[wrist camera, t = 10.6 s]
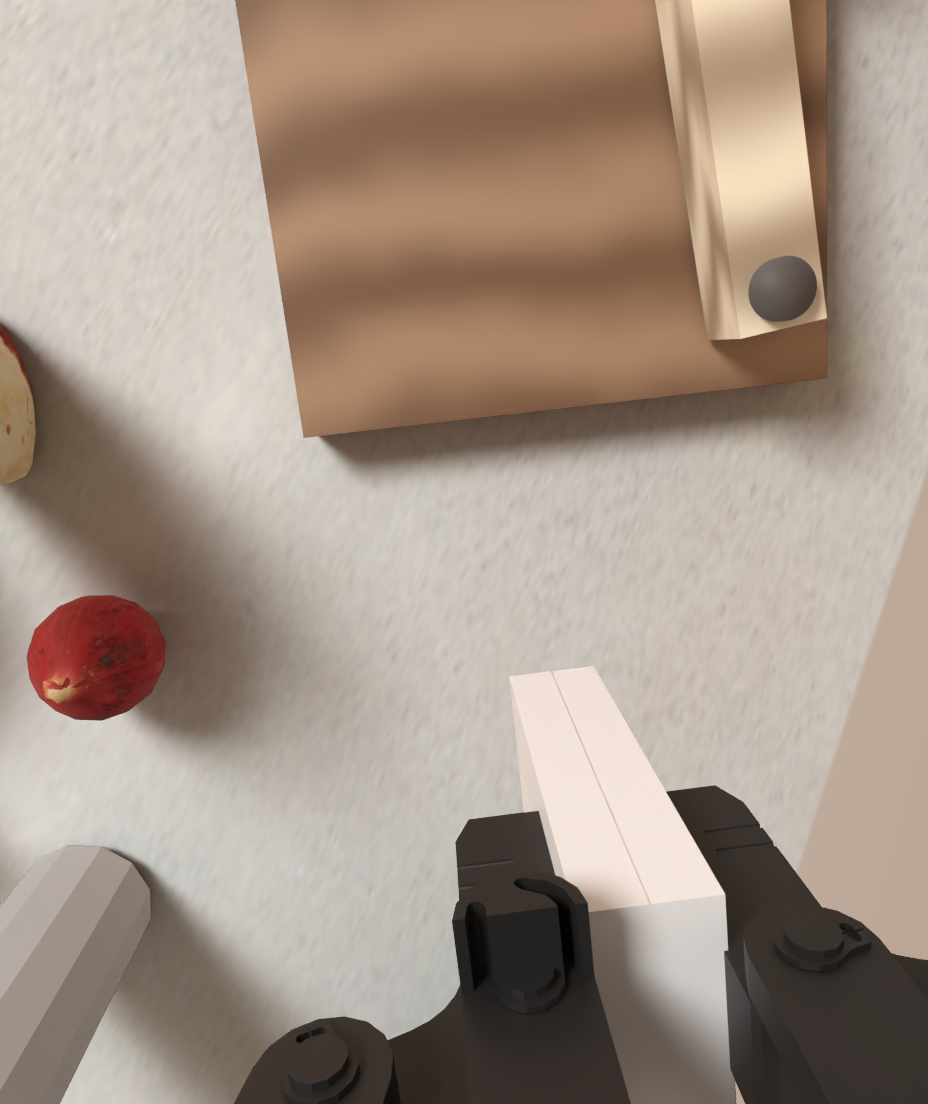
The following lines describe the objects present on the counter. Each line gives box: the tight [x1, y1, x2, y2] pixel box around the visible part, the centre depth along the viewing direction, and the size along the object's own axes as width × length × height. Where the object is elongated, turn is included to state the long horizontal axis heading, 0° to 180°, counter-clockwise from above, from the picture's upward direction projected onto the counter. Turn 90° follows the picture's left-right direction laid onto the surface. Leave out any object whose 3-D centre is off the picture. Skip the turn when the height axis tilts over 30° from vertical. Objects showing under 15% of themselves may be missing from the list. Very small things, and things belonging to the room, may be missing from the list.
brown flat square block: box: [235, 0, 827, 438], centre depth 34 cm, size 24×24×6 cm
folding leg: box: [655, 0, 827, 340], centre depth 32 cm, size 19×4×5 cm, turn 13°
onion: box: [27, 596, 165, 720], centre depth 38 cm, size 6×6×8 cm
